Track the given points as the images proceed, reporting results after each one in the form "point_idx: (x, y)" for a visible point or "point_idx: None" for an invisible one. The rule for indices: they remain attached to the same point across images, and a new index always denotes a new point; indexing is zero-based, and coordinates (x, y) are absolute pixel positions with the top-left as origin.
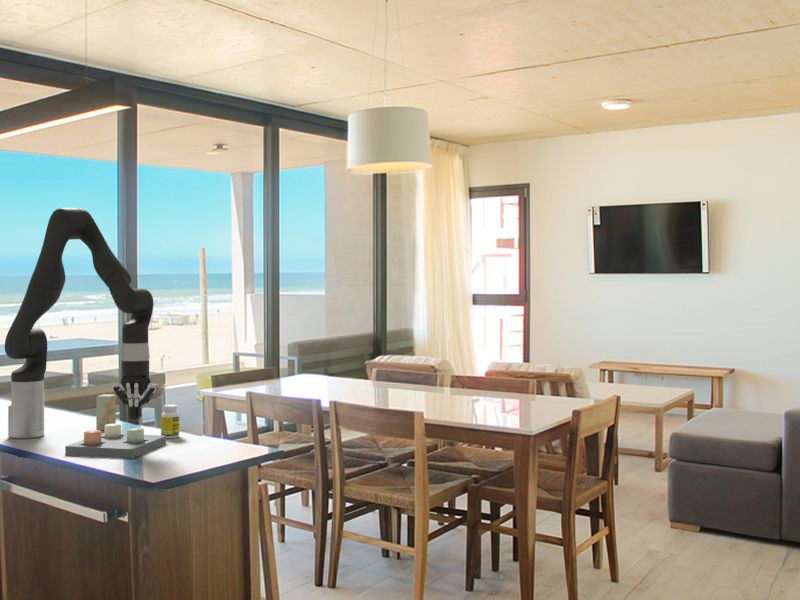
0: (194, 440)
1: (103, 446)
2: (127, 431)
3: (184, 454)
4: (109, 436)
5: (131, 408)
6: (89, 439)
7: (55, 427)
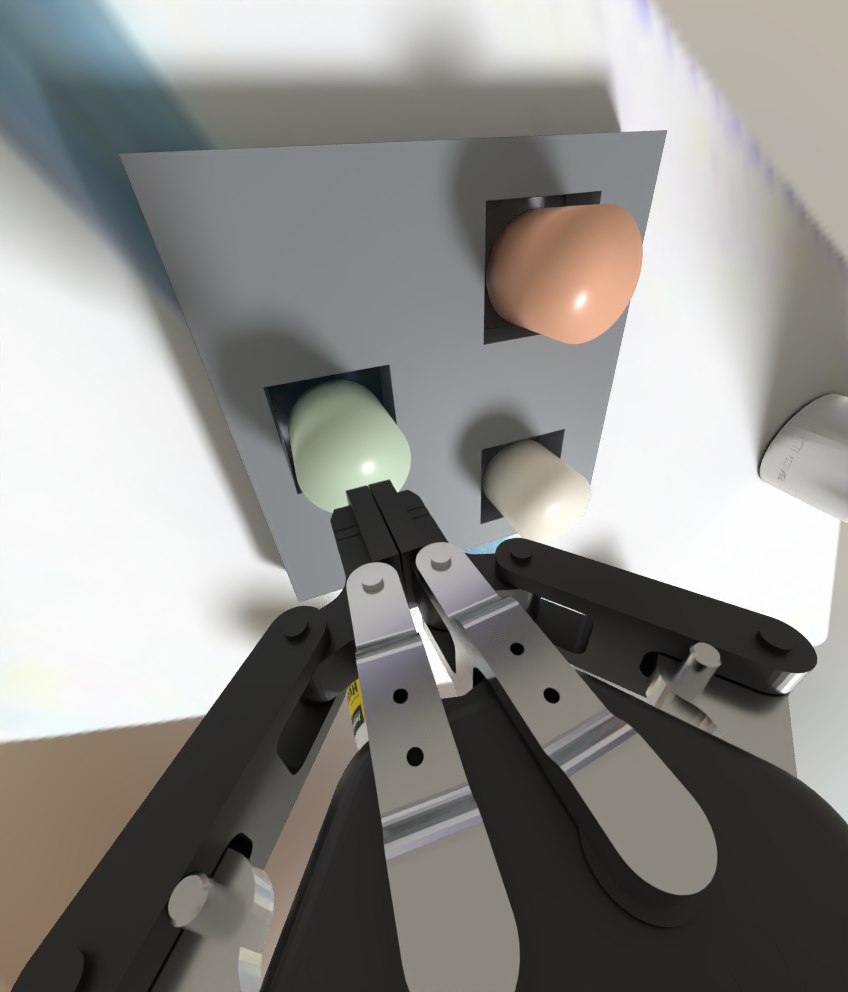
0: (232, 664)
1: (432, 201)
2: (386, 417)
3: None
4: (525, 448)
5: (420, 536)
6: (562, 209)
7: (738, 554)
